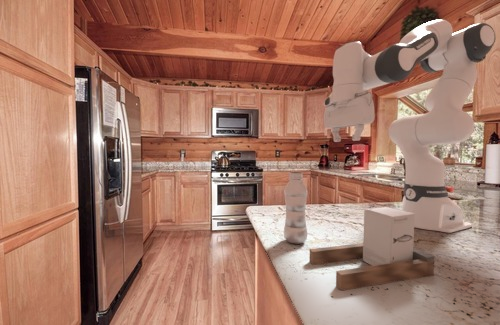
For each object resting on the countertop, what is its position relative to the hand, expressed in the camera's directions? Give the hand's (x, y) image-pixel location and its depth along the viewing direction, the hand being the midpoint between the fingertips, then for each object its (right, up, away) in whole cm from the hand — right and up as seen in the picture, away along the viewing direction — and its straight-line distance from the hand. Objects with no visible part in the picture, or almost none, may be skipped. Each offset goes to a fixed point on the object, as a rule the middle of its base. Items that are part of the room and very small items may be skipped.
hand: (346, 141), depth 76 cm
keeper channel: (-4, -30, -22) cm, 38 cm away
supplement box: (+1, -31, -21) cm, 37 cm away
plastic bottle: (-17, -30, -7) cm, 35 cm away
